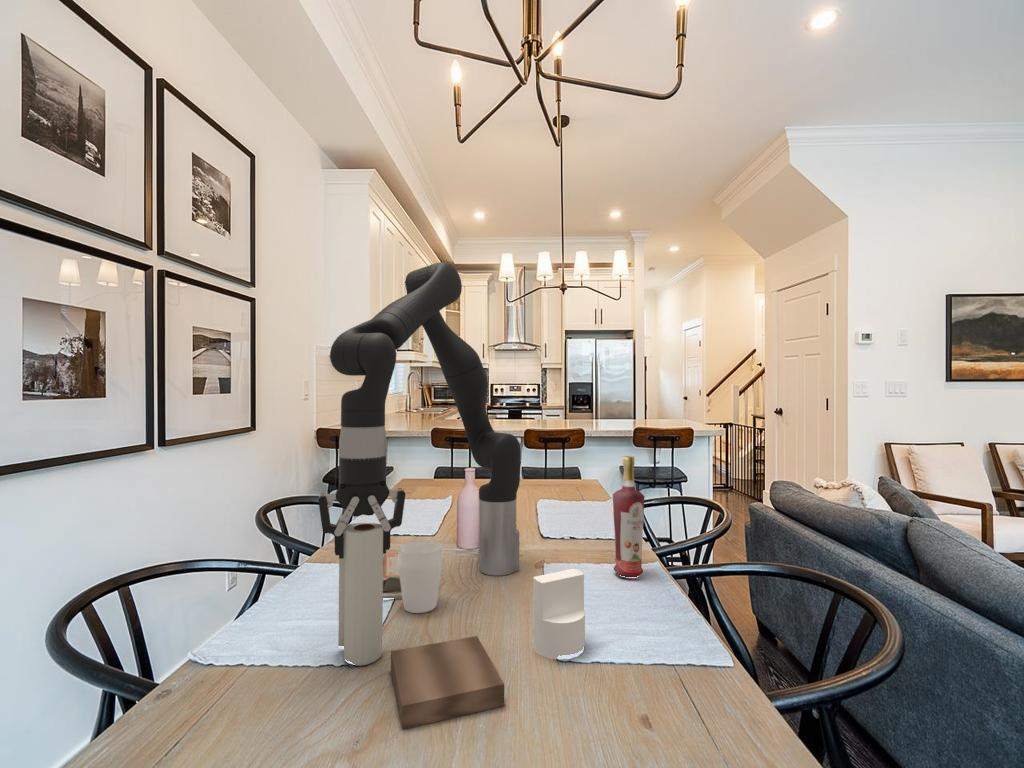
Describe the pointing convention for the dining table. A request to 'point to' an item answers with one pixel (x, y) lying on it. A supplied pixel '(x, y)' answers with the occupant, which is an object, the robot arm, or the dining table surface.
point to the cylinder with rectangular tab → (558, 613)
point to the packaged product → (391, 577)
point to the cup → (420, 574)
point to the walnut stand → (444, 681)
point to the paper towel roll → (361, 593)
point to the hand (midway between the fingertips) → (362, 554)
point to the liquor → (628, 524)
